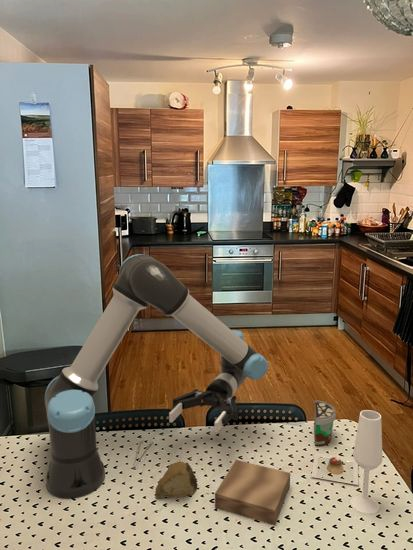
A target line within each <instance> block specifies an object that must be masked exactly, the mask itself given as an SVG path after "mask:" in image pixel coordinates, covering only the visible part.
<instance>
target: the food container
mask: <svg viewBox="0 0 413 550" xmlns="http://www.w3.org/2000/svg"><path fill="white" fill-rule="evenodd" d="M336 419H337V413H336V410H335V408H334V406H333V405H331V404H330V403H328V402H326V401H322V400H317V399H315V401H314V419H313V420H314V421H313V435H314V436H313V437H314V438H313V439H314V447H324V446H327V445H329V444H330V443H331V441H332V435H333V434H332V433H333V425H334V421H335V420H336Z"/></svg>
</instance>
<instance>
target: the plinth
mask: <svg viewBox="0 0 413 550" xmlns="http://www.w3.org/2000/svg"><path fill="white" fill-rule="evenodd" d="M290 488H291V472H288V471H285V470H284V471H283V470H281V469H276V468H271V467H267V466H263V465H259V464H255V463H251V462H247V461H242V460H239V459H235V460H234V462H233V464H232V466H231V467H230V469H229V470H228V472H227V473H226V475H225V477H224V478H223V480H222V481H221V483H220V484H219V486H218V488H216V489H217V490H216V491H215V493H214V508H215V509H218V510H222V511H225V512H227V513H231V514H235V515H239V516H242V517H244V518H249V519H252V520H255V521H259V522H262V523H266V524H268V525H273V526H276V524H277V521H278V518H279V515H280V512H281V511H282V508H283V505H284V503H285V500H286V498H287V495H288V492H289V490H290Z"/></svg>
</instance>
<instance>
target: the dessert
mask: <svg viewBox="0 0 413 550" xmlns="http://www.w3.org/2000/svg"><path fill="white" fill-rule="evenodd" d="M313 455H314V456H313V461H312V462H313V463H312V468H311V469H312V470H311V475H310V476H311V478H316V479H321V480H327V481H331V482H338V483H343V484H344V483H345V484H350V485H354V486H359V465H358V464H357V462H356V461H355V459H354V457H346V456H341V455H335V454H329V453H323V452H317V451H315V452H314V454H313ZM319 458H324V459H329V461H328V464H327V466H326V470H327V472H329V473H330V474H333V475H341V474H344V472H345V471H344V470H345V469H344V466H343V462H348V463H352V482H349V481H344V480H338V479H334V478H333V479H332V478H327V477H321V476H318V466H319Z"/></svg>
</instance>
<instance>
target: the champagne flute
mask: <svg viewBox="0 0 413 550" xmlns="http://www.w3.org/2000/svg"><path fill="white" fill-rule="evenodd" d="M382 428H383V427H382V415H381V414H380V413H379V412H377V411H375V410H371V409H370V410H369V409H365V410H364V409H363V410H361V411H360V413H359V417H358V423H357V430H356V435H355V440H354V446H353V454H352V455H353V457H352V458H354V459H355V461H356V462H357V464H358V467H360V468H362V470H364V471H363V485H362V495H361V494H359V495H354V496H352V498H351V499H350V501H349V502H350V505H351V507H352V508H353V509H354V510H356V511H357V512H358V513H362V514H366V515H371V514H372V515H373V514H376V513H377V512H378V511H379V509H380V506H379V503H378V502H377V501H376V500H375V499H373V498H372V497H370V496H368V495H369V494H368V493H369V482H370V481H369V480H370V472H371V471H373V470H375V469H377V468H378V467H379V466H380V465H382V463H383V460H384V459H383V435H382V434H383V433H382V430H383V429H382Z"/></svg>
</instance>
